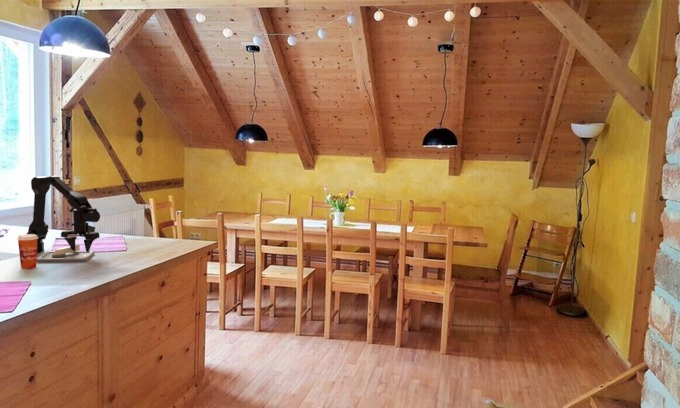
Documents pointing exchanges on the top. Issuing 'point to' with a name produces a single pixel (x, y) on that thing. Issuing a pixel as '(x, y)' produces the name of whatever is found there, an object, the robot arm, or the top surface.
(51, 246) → the top surface
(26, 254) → the coffee cup
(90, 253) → the board
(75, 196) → the robot arm
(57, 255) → the long cream stick
